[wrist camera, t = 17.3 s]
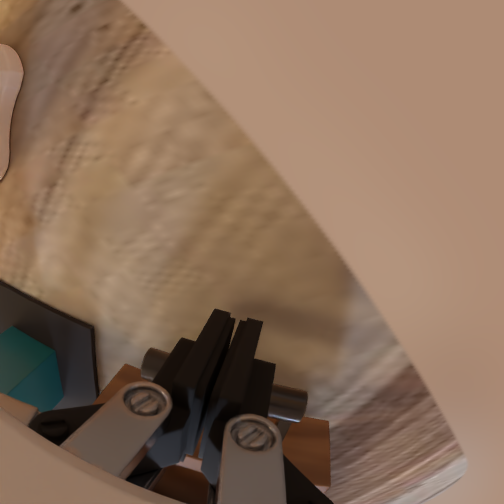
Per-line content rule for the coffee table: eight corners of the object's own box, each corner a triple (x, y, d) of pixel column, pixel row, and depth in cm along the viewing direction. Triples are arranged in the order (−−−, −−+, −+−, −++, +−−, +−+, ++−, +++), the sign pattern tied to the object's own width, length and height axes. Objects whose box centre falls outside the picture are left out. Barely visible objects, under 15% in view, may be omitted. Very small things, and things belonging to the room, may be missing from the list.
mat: (8, 380, 22) (6, 382, 22) (-15, 272, 19) (-18, 273, 18) (105, 437, 22) (103, 440, 21) (93, 326, 18) (90, 329, 17)
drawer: (126, 301, 16) (74, 348, 11) (358, 365, 15) (372, 434, 10) (132, 475, 22) (112, 513, 17) (266, 515, 21) (259, 558, 16)
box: (22, 371, 21) (-33, 422, 13) (12, 325, 19) (-56, 374, 12) (64, 396, 20) (9, 459, 13) (55, 350, 19) (-15, 414, 11)
